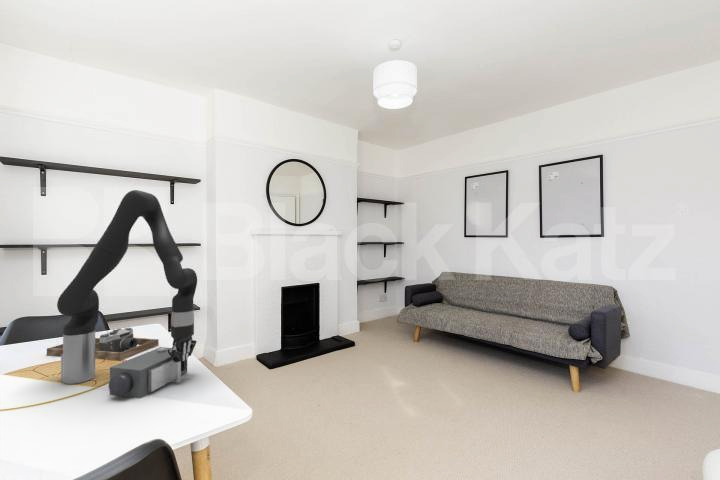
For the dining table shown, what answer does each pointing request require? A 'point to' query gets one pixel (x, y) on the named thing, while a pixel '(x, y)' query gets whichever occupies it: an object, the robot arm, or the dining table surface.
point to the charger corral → (59, 349)
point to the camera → (117, 340)
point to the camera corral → (144, 345)
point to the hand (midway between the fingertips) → (182, 370)
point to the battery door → (164, 374)
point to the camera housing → (136, 373)
